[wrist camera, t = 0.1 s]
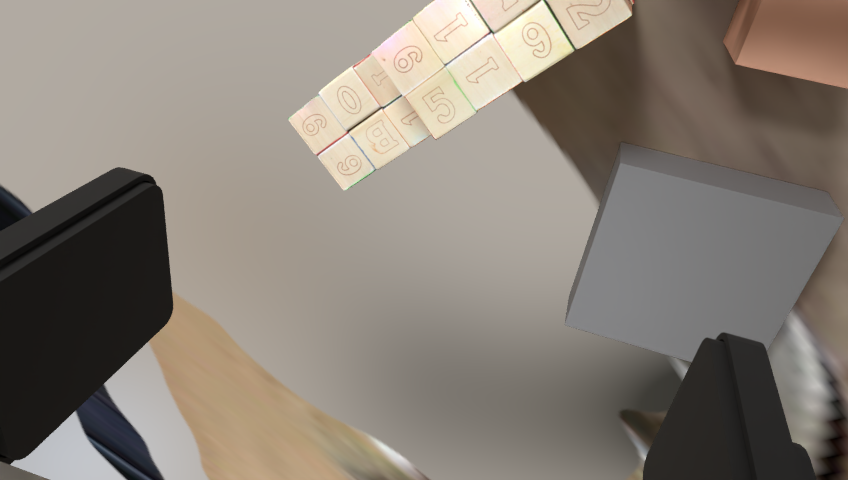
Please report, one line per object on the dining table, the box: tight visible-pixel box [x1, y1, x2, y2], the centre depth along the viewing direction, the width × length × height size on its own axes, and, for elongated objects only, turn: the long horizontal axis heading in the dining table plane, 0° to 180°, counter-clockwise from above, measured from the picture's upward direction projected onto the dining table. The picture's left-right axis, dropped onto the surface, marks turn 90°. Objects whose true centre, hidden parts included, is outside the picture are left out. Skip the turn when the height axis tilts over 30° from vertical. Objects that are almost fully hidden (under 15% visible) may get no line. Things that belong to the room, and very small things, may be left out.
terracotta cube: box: [723, 0, 848, 89], centre depth 36 cm, size 6×6×6 cm
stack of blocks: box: [288, 0, 634, 191], centre depth 39 cm, size 21×6×12 cm, turn 127°
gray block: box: [565, 142, 844, 362], centre depth 46 cm, size 14×14×4 cm
